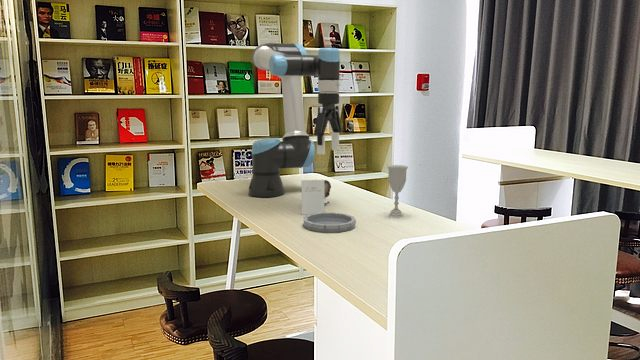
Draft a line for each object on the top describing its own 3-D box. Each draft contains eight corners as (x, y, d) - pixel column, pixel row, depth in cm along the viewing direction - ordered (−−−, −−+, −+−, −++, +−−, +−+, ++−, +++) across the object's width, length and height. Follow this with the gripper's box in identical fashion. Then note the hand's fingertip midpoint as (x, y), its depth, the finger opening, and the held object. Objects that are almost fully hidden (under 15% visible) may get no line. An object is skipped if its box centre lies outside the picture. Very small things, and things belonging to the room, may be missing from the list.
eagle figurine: (321, 200, 213) (321, 178, 212) (335, 203, 208) (335, 181, 207) (308, 204, 208) (308, 181, 206) (321, 206, 203) (322, 183, 201)
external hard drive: (301, 213, 192) (301, 179, 190) (323, 213, 193) (324, 179, 191) (301, 214, 191) (301, 180, 188) (324, 214, 191) (324, 180, 189)
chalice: (407, 215, 191) (409, 165, 188) (404, 219, 185) (406, 168, 181) (387, 213, 193) (389, 164, 190) (383, 217, 187) (385, 167, 184)
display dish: (294, 228, 172) (294, 221, 172) (317, 217, 187) (317, 210, 187) (342, 235, 165) (343, 227, 165) (362, 222, 180) (362, 215, 180)
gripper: (324, 93, 176) (324, 156, 180) (350, 92, 199) (349, 148, 202) (304, 93, 179) (304, 155, 183) (332, 92, 202) (331, 147, 205)
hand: (328, 152), depth 193 cm, fingers open, 13 cm apart
